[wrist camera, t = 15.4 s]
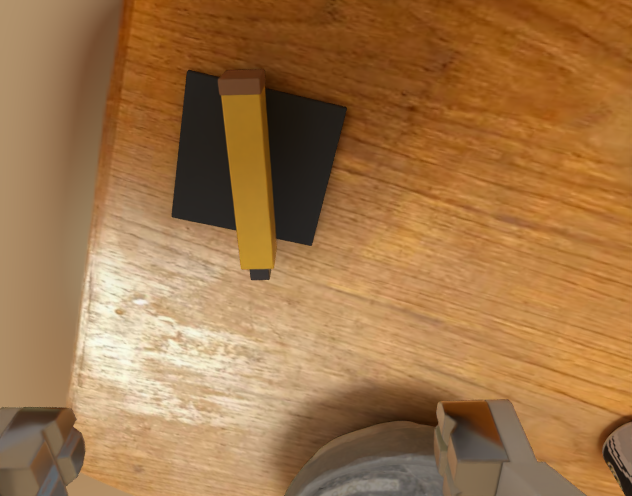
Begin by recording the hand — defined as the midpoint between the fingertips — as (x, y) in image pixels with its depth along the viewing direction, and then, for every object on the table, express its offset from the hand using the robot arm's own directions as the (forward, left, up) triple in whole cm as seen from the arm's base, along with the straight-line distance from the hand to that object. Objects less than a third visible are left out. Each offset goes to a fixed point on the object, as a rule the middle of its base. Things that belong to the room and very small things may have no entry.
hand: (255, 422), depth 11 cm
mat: (+2, -2, -21) cm, 21 cm away
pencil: (+2, -2, -21) cm, 21 cm away
